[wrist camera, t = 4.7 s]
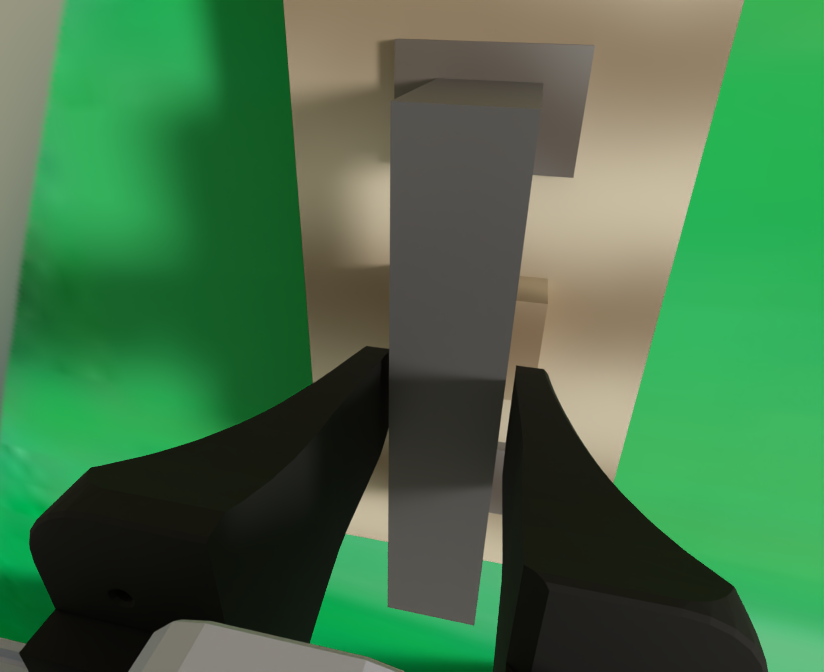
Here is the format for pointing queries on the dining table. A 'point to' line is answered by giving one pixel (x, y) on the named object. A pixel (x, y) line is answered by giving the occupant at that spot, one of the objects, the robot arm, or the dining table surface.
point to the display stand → (550, 190)
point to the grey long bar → (451, 325)
